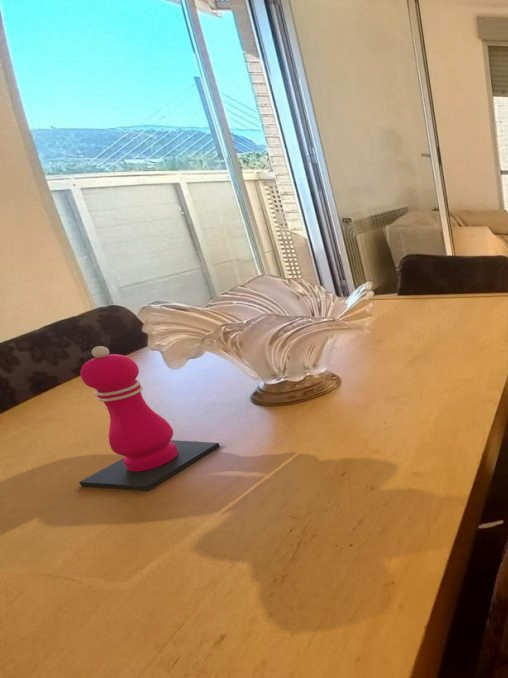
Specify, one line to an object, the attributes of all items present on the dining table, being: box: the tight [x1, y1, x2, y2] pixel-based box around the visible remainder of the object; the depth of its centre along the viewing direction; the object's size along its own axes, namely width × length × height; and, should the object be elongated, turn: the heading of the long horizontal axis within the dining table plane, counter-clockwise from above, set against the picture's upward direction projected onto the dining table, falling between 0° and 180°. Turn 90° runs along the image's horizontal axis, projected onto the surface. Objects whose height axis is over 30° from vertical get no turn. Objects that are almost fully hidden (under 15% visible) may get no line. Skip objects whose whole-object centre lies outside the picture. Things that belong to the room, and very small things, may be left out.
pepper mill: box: [79, 345, 178, 472], centre depth 73 cm, size 7×7×20 cm
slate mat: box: [78, 439, 221, 492], centre depth 77 cm, size 12×12×1 cm
